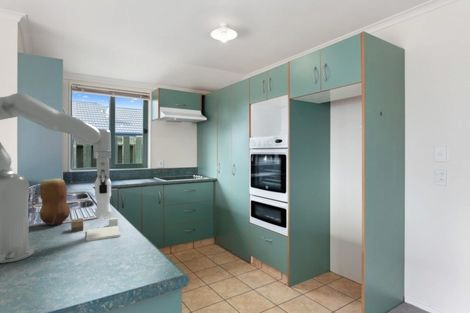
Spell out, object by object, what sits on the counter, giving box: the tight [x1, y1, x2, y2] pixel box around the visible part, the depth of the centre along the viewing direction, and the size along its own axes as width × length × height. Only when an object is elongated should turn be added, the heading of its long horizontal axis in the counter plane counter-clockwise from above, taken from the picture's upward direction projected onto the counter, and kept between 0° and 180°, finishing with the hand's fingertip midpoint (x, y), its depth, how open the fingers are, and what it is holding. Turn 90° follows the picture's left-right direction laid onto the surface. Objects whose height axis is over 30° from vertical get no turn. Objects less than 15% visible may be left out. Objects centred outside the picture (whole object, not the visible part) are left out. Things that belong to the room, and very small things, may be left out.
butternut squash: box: [39, 178, 71, 226], centre depth 146 cm, size 14×13×25 cm
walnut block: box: [70, 218, 84, 233], centre depth 136 cm, size 5×5×5 cm
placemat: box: [85, 225, 121, 242], centre depth 130 cm, size 16×14×1 cm
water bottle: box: [94, 176, 113, 220], centre depth 129 cm, size 7×7×25 cm
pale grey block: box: [108, 217, 119, 227], centre depth 144 cm, size 4×4×4 cm
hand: (103, 191), depth 129 cm, fingers closed on water bottle, 7 cm apart
